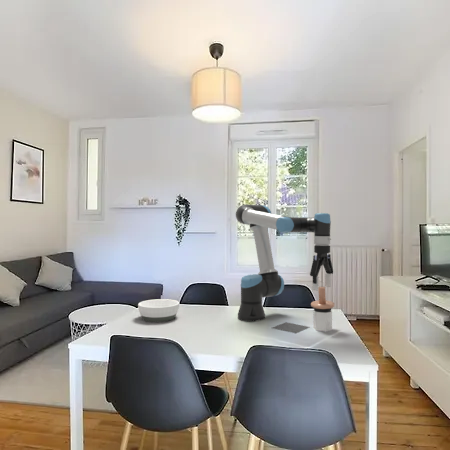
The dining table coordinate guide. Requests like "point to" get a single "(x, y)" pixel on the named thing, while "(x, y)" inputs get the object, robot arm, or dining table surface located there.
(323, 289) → the orange post stand
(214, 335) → the dining table surface
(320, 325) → the jar
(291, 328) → the mat
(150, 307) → the bowl
